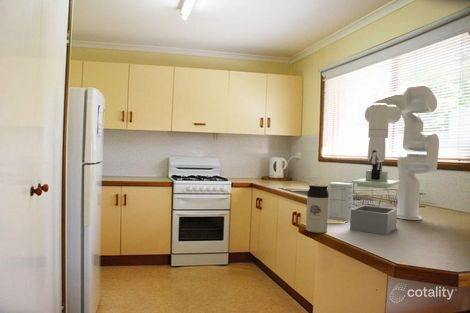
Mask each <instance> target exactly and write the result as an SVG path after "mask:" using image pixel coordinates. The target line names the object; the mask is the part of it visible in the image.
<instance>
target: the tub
mask: <svg viewBox="0 0 470 313" xmlns="http://www.w3.org/2000/svg"><path fill="white" fill-rule="evenodd" d="M349 221H350V222H349V223H350V224H349V230H350V231H351V230H352V231H357V230H360V231H359V232H364V231H365V233H370V232H371V233H372V234H377V233H378V234H379V235H385V236H388V235H389V234H391V233H392V232H393V231H395V230H396V229H397V222H398V218H397V208H390V207H381V206H374V205H373V206H372V205H364V204H363V205H360V206H357V207H354V208H353V209H351V217H350V220H349Z"/></svg>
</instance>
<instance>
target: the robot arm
mask: <svg viewBox="0 0 470 313" xmlns="http://www.w3.org/2000/svg"><path fill="white" fill-rule="evenodd" d="M437 107H438V100H437V97H436V96H435V94H434V92H433V91H432V90H431V88H430V87H429V86H428V85H426V84H421V83H420V84H410V85H409V84H408V85H402V86H400V87H399V88H398V89H396V91H394V92H393V93H392V94H391V95H389V96H386V97H382V98H380V99H377V100H375V101H373V102H372V103H371V104H369V105H368V106H367V107H366V109H365V113H364V118H365V120H366V122H367V123H368V134H367V136H368V138H369V140H368V148H367V149H368V150H367V161H368V162H371V170H370V171H371V179H374V180H379V179H380V171H383V162H385V159H386V139H388V138H389V124H395V123H398V122H399V121H400V120H401V118H402V119H403V124H404V126H403V127H404V129H403V137H402V147H403V149H404V151H407V152H413V153H404V154H401V155H400V156H399V157H398V159H397V172H398V181H401V183H400V184H398V187H397V188H398V189H397V190H398V191H397V208H396V209H397V219H400V220H408V221H410V220H411V221H421V220H422V219H423V217H422V216H421V215H419V210H420V209H419V207H420V191H421V190H420V188H421V184H420V179H419V178H418V177H417V176H416V175H419V174H420V175H434V174H435V173H436V172H437V168H438V163H439V162H438V161H439V150H440V140H439V139H440V138H439V136H438V134H437V133H435V132H432V131H431V132H428V131H427V132H424V121H423V119H422V118H421V117H420V115H419V114H428V113H434V112H435V111H436V109H437ZM414 152H415V153H414ZM416 152H417V153H416ZM419 153H426V154H419Z"/></svg>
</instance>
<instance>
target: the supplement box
mask: <svg viewBox="0 0 470 313" xmlns="http://www.w3.org/2000/svg"><path fill="white" fill-rule="evenodd" d="M327 191H328V193H329V198H328V220H331V221H338V222H339V221H341V222H349V221H350V217H351V209H354V208H353V202H354V201H353V200H354V183H351V182H338V181H337V182H336V181H334V182H333V181H332V182H329V183H328V189H327Z"/></svg>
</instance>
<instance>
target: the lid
mask: <svg viewBox="0 0 470 313" xmlns="http://www.w3.org/2000/svg"><path fill="white" fill-rule="evenodd" d="M371 171H372V170H367V169H366V170H365V177H364V178H359V179H353V180H351V181H350V183H353V185H355V184H357V185H356V186H357V187H359V188H360V187H361V188H372V189H384V190H385V189H386V190H387V189H390V188H393V187H395V186H396V185H399V184H400V183H401V181H399V180H394V179H393V180H392V179H388V178H389V176H388V175H389V171H386V170H384V171H383V170H382V171H380V179H379V180H374V179H371Z"/></svg>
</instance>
